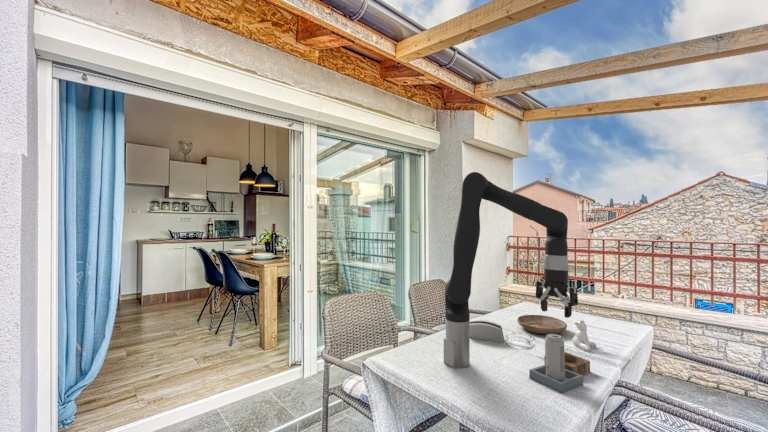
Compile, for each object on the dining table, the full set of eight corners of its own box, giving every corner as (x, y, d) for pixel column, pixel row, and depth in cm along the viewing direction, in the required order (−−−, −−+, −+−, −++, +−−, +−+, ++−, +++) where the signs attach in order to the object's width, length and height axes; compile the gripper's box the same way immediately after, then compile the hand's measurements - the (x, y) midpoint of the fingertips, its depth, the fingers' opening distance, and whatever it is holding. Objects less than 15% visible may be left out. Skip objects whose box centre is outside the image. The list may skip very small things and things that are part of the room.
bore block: (572, 378, 118) (572, 367, 118) (543, 366, 128) (543, 355, 128) (591, 371, 124) (591, 361, 124) (561, 360, 134) (561, 350, 134)
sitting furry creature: (589, 352, 142) (589, 324, 142) (568, 346, 149) (568, 320, 149) (597, 347, 148) (597, 320, 148) (576, 342, 155) (576, 316, 155)
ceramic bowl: (507, 326, 177) (507, 317, 177) (538, 321, 187) (538, 312, 187) (544, 341, 156) (544, 330, 156) (577, 334, 166) (577, 324, 166)
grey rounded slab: (504, 339, 158) (503, 321, 155) (503, 345, 154) (502, 327, 151) (469, 333, 166) (467, 316, 163) (467, 339, 162) (465, 322, 159)
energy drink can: (548, 374, 120) (546, 332, 121) (566, 378, 117) (565, 335, 117) (544, 380, 116) (542, 336, 116) (563, 385, 112) (562, 340, 112)
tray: (561, 393, 108) (561, 384, 108) (529, 378, 118) (529, 369, 118) (582, 384, 114) (582, 375, 114) (550, 370, 124) (550, 362, 124)
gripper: (531, 265, 121) (530, 310, 121) (569, 271, 109) (568, 320, 108) (544, 264, 125) (544, 308, 124) (582, 269, 112) (582, 318, 112)
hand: (555, 314), depth 116 cm, fingers open, 8 cm apart
